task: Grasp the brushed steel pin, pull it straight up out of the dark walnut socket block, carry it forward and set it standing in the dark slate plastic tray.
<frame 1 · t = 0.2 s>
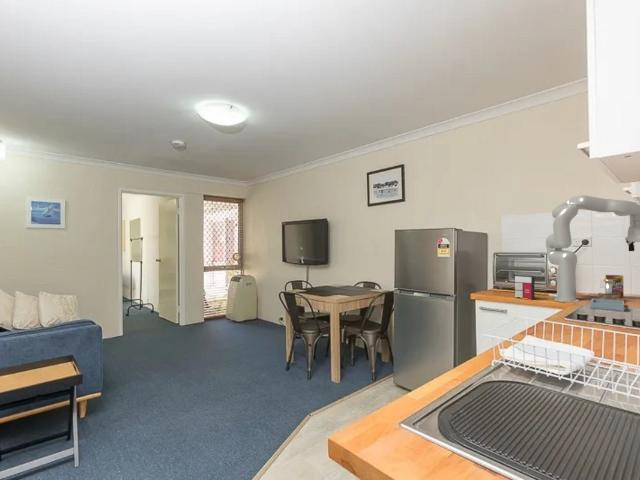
hand: (638, 251, 214), 31 cm above the countertop, tool pointing down, fingers open, 9 cm apart
socket block: (608, 303, 208), on the countertop
grey and crimson box: (524, 299, 226), on the countertop
candy box: (614, 298, 224), on the countertop
tray: (607, 307, 193), on the countertop
steel pin: (608, 301, 208), point 1 cm above the countertop, touching socket block
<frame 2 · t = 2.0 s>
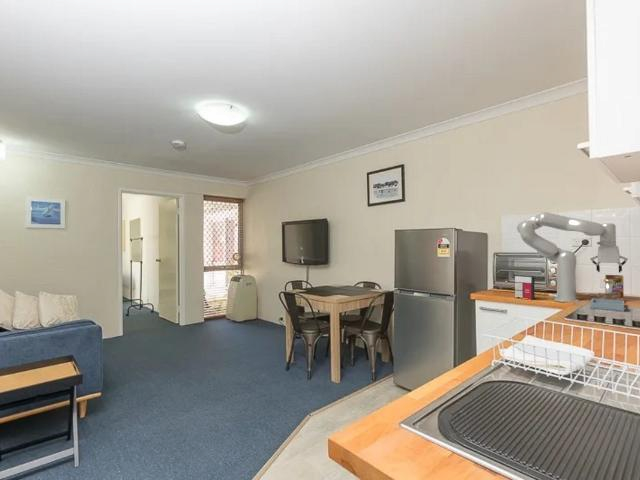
hand: (609, 272, 208), 19 cm above the countertop, tool pointing down, fingers open, 9 cm apart
nothing on the countertop moved.
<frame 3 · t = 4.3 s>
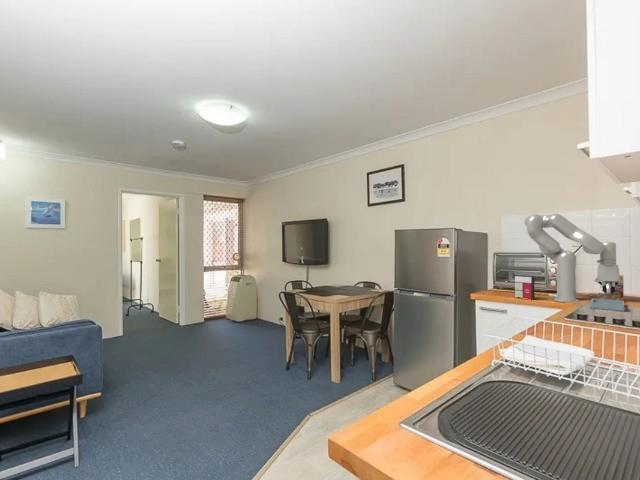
hand: (608, 292, 208), 6 cm above the countertop, tool pointing down, fingers closed on steel pin, 3 cm apart
steel pin: (608, 301, 208), point 1 cm above the countertop, touching gripper, socket block
everything else where it was.
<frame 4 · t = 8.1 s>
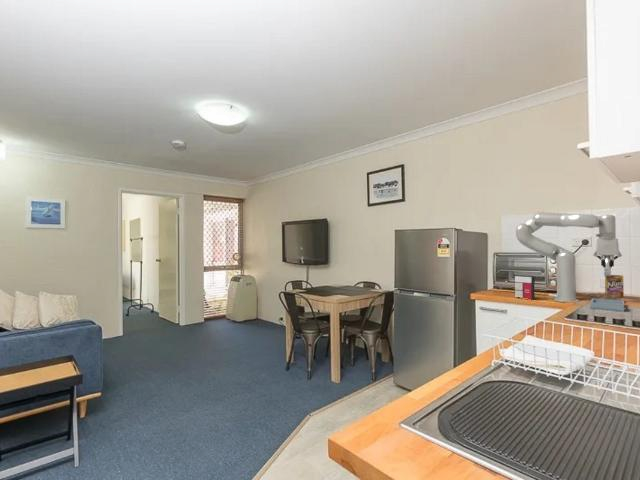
hand: (607, 266, 203), 22 cm above the countertop, tool pointing down, fingers closed on steel pin, 3 cm apart
steel pin: (607, 275, 203), point 17 cm above the countertop, touching gripper
everything else where it was.
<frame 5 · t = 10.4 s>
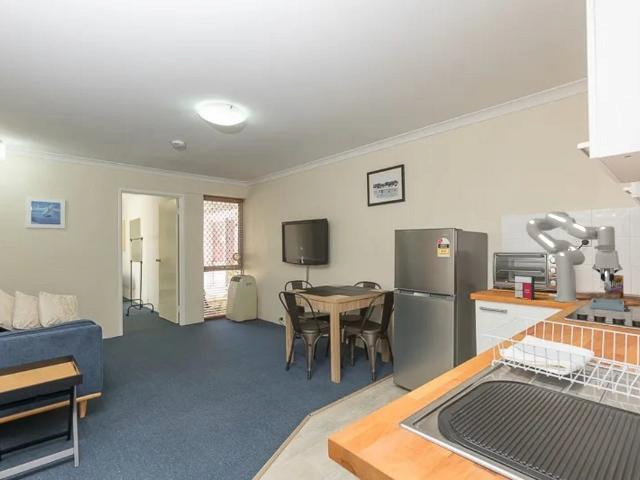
hand: (607, 280, 193), 15 cm above the countertop, tool pointing down, fingers closed on steel pin, 3 cm apart
steel pin: (607, 290, 192), point 10 cm above the countertop, touching gripper
everything else where it was.
when the fingers open (8 cm above the countertop, at t = 12.4 s): steel pin drops 2 cm, resting on tray.
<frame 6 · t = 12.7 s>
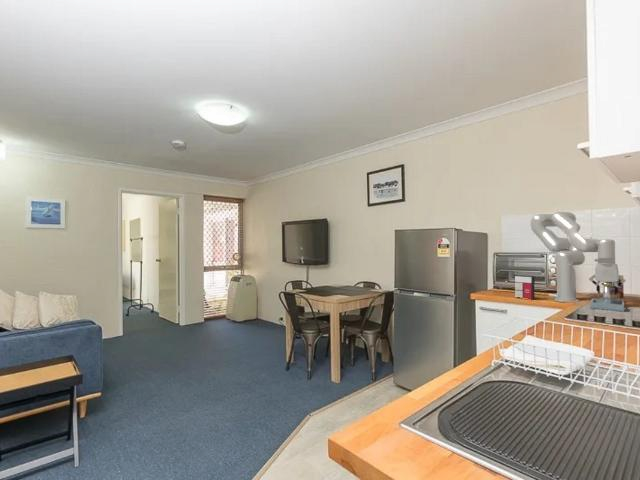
hand: (607, 293, 193), 8 cm above the countertop, tool pointing down, fingers open, 6 cm apart
steel pin: (606, 306, 193), point 1 cm above the countertop, touching tray
everything else where it was.
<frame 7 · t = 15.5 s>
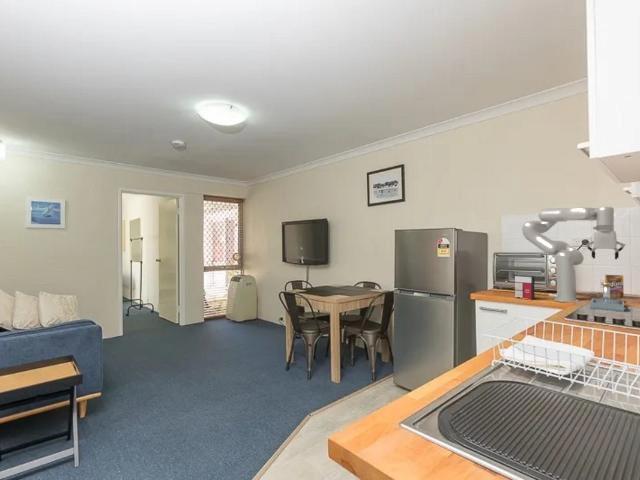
hand: (604, 258, 196), 27 cm above the countertop, tool pointing down, fingers open, 9 cm apart
nothing on the countertop moved.
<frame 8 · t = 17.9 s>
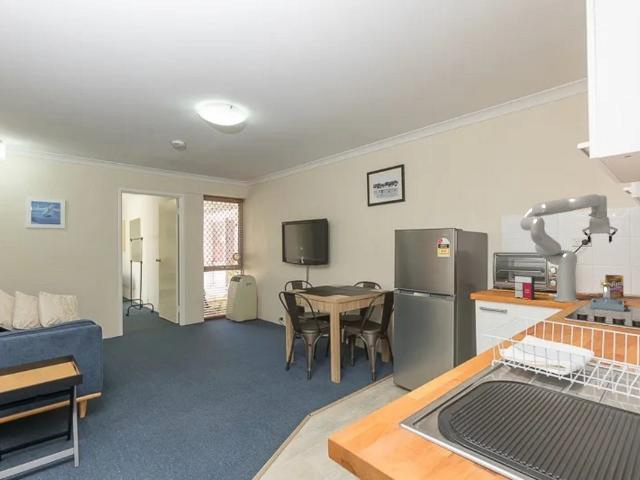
hand: (599, 242, 215), 36 cm above the countertop, tool pointing down, fingers open, 9 cm apart
nothing on the countertop moved.
at the end: steel pin inside the target area on the tray (0.2 cm from its centre), point 0.8 cm above the tray's base; the gripper is holding nothing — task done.
